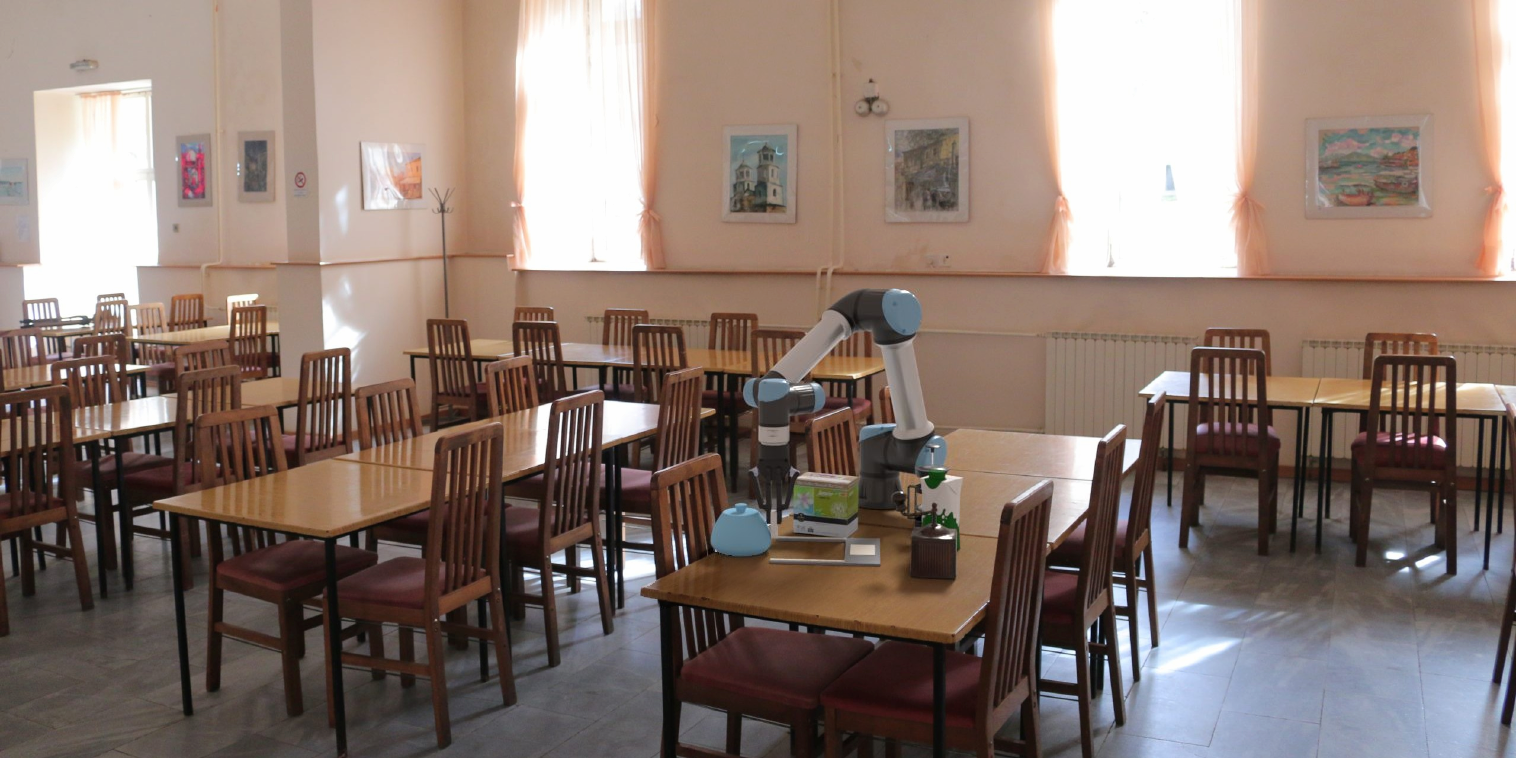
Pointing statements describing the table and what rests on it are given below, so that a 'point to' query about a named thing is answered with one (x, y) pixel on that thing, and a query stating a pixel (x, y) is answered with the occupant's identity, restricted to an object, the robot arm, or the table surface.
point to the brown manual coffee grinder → (930, 545)
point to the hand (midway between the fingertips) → (774, 536)
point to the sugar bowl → (741, 532)
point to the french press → (921, 472)
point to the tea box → (826, 504)
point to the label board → (855, 551)
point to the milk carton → (942, 499)
